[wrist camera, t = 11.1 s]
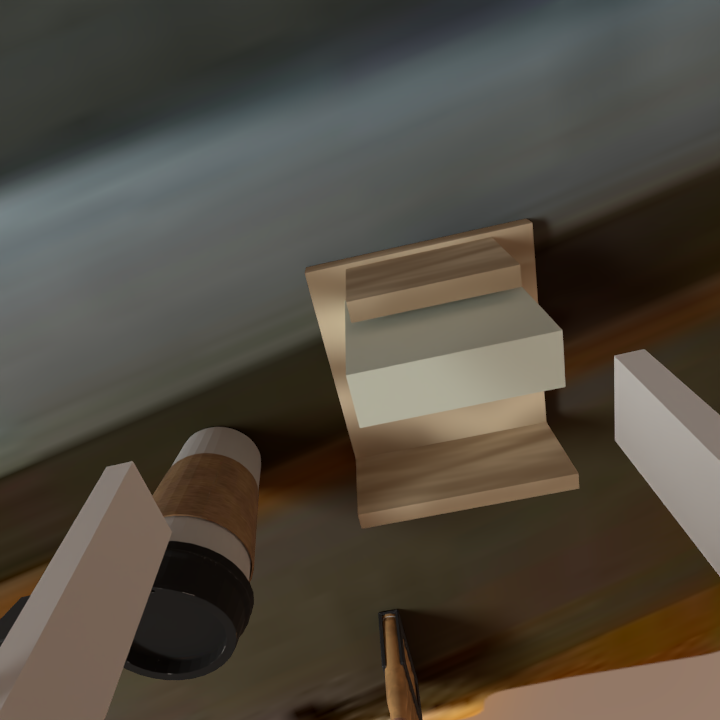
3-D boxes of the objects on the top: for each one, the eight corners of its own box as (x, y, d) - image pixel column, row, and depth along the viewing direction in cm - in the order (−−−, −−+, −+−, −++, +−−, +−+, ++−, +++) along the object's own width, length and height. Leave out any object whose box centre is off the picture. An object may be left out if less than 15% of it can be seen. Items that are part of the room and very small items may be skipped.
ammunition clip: (377, 611, 48) (387, 758, 38) (397, 608, 48) (413, 754, 38) (399, 682, 53) (413, 831, 42) (417, 679, 53) (436, 827, 42)
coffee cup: (270, 408, 38) (232, 577, 25) (283, 499, 42) (256, 688, 29) (154, 414, 38) (53, 587, 25) (177, 504, 42) (100, 697, 29)
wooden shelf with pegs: (306, 267, 34) (297, 307, 28) (526, 218, 33) (569, 248, 27) (359, 464, 41) (362, 531, 35) (542, 429, 40) (579, 492, 34)
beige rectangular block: (344, 300, 34) (345, 375, 25) (502, 265, 33) (562, 330, 24) (355, 342, 35) (359, 428, 26) (507, 310, 34) (565, 386, 25)
